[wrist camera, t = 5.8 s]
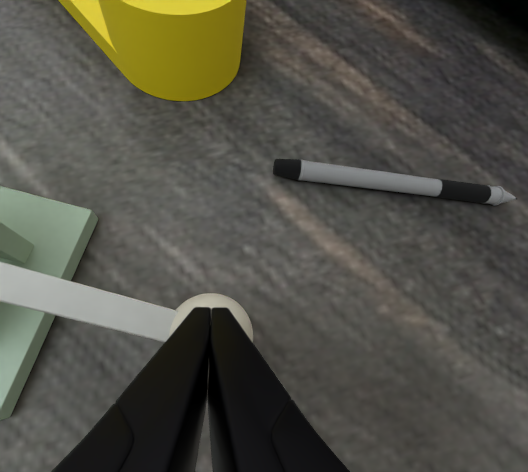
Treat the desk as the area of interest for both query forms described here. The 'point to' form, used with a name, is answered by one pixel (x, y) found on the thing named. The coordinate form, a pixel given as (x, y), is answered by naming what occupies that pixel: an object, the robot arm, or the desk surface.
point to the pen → (389, 181)
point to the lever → (104, 304)
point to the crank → (167, 42)
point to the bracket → (40, 260)
